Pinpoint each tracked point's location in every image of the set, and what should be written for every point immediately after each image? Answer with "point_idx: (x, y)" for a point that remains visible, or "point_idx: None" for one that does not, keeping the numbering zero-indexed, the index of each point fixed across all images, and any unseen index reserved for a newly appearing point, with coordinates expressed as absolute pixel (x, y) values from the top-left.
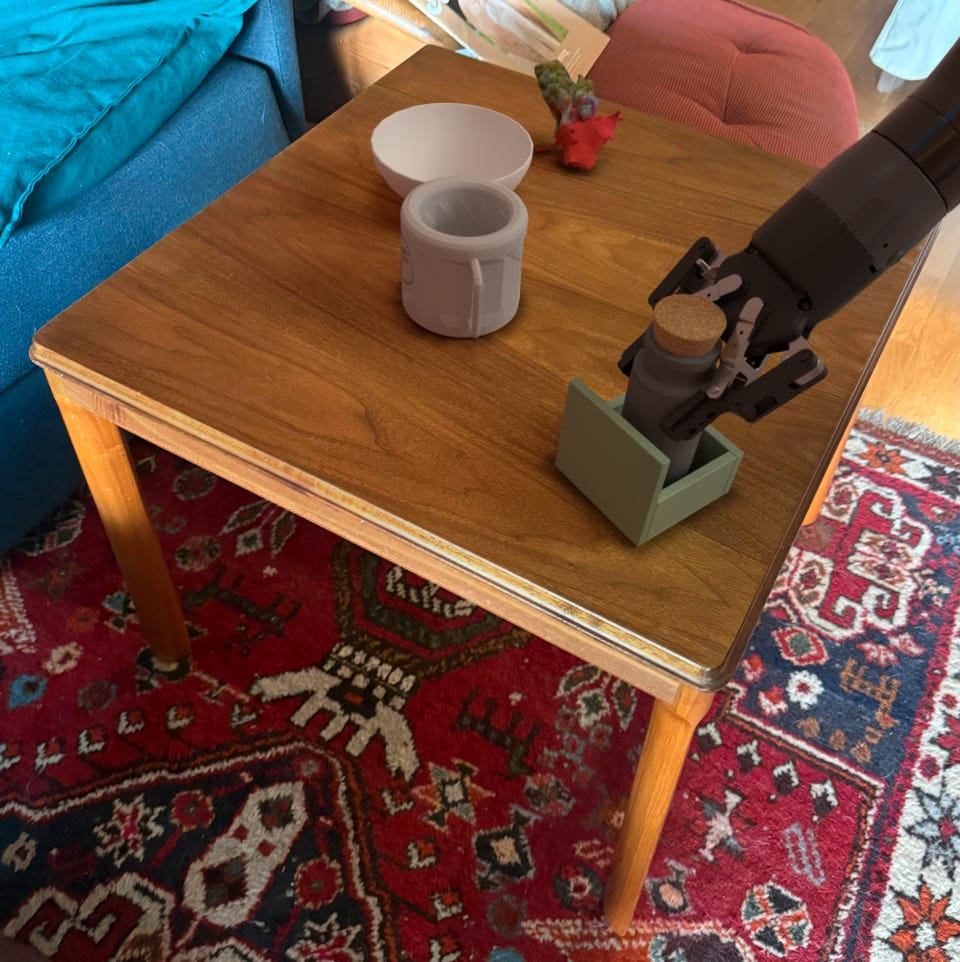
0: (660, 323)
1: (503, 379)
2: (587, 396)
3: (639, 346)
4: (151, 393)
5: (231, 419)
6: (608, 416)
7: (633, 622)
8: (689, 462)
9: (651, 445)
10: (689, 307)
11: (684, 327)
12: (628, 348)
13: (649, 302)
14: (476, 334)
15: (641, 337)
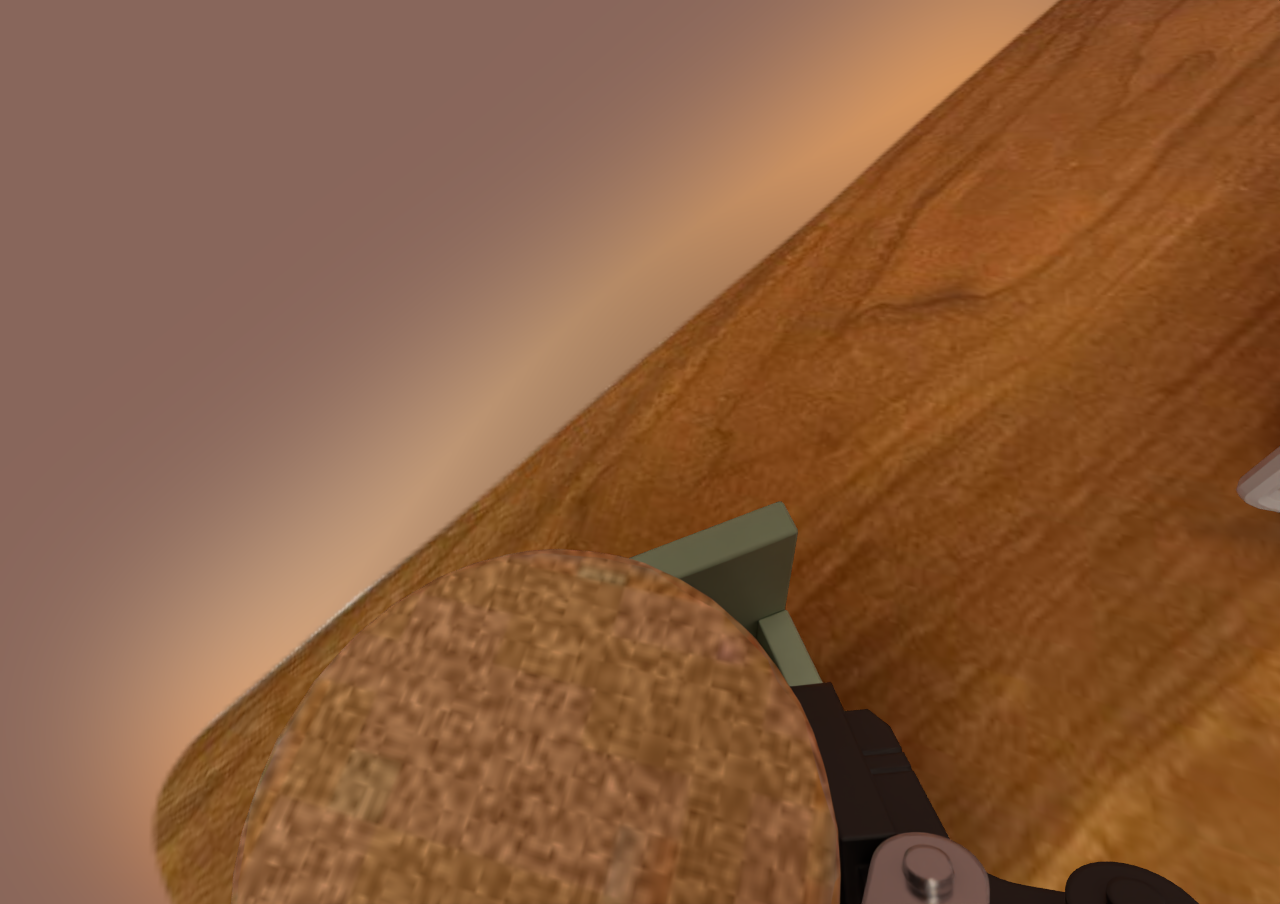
0: (515, 559)
1: (1111, 591)
2: (692, 535)
3: (841, 754)
4: (1019, 43)
5: (954, 125)
6: None
7: (306, 665)
8: None
9: None
10: (624, 872)
11: (412, 707)
12: (889, 739)
13: (1117, 870)
14: (1240, 483)
15: (910, 792)
